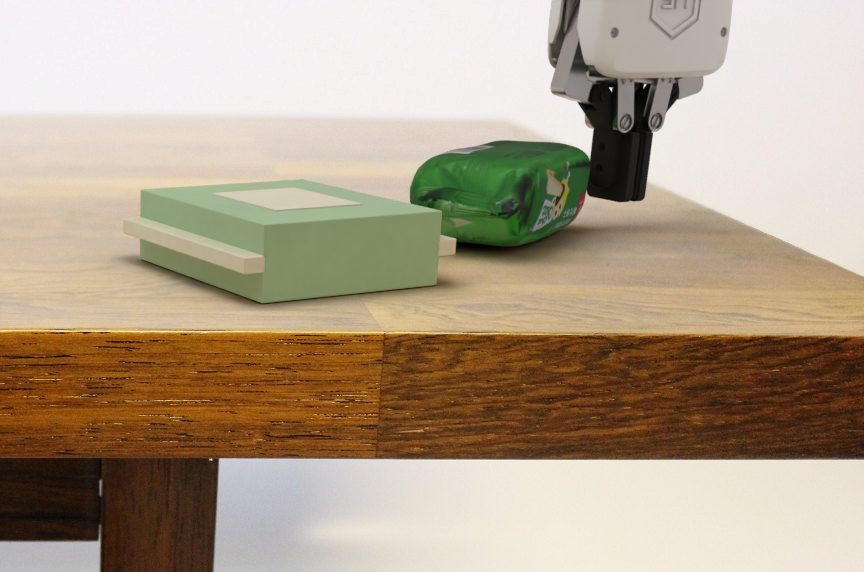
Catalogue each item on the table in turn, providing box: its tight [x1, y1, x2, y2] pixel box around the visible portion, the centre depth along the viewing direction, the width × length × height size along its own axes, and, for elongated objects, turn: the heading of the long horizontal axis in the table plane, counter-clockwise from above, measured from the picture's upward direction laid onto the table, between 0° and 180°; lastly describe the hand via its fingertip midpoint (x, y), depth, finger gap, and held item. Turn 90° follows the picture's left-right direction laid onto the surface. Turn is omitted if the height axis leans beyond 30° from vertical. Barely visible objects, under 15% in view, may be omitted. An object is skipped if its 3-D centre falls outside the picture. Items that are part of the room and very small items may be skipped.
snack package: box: [409, 139, 591, 247], centre depth 84 cm, size 7×16×5 cm, turn 148°
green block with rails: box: [122, 178, 457, 304], centre depth 74 cm, size 12×12×4 cm
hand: (614, 198), depth 88 cm, fingers closed
